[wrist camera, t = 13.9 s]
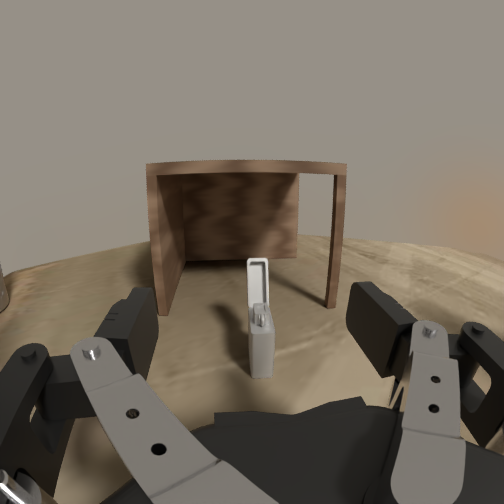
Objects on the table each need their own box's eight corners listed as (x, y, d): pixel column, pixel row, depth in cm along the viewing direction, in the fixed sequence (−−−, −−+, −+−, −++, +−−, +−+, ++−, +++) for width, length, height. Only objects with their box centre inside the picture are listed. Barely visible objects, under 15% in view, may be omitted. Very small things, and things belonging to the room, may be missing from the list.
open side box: (159, 315, 31) (146, 163, 26) (180, 259, 50) (176, 164, 45) (335, 307, 33) (346, 163, 28) (294, 255, 52) (297, 163, 47)
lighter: (273, 377, 21) (278, 285, 19) (251, 378, 21) (251, 286, 19) (264, 331, 28) (266, 253, 26) (246, 331, 28) (246, 254, 26)
